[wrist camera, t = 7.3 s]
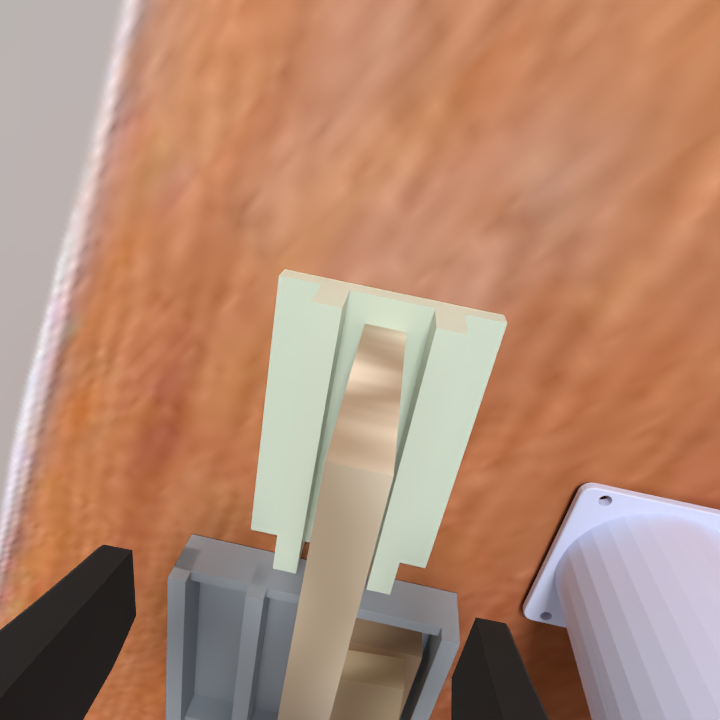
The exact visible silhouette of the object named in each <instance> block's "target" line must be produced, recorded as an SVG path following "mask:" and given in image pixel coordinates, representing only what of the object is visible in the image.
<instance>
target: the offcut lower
mask: <svg viewBox="0 0 720 720" xmlns="http://www.w3.org/2000/svg"><path fill="white" fill-rule="evenodd" d="M348 650H352V651H359V652H365V653H372V654H378V655H384V656H391V657H397V658H403V659H405V673H404V692H403V697H402V703H401V708H400V714H399V719H400V716H401V713H402V711H403V708H404V705H405V703H406V700H407V697H408V695H409V692H410V689H411V687H412V684H413V681H414V678H415V676H416V673H417V670H418V668H419V665H420V662H421V660H422V632H418V631H414V630H409V629H405V628H400V627H396V626H392V625H387V624H383V623H378V622H374V621H369V620H365V619H361V618H356V620H355V624H354V628H353V632H352V636H351V639H350V643H349V647H348ZM399 719H398V720H399Z"/></svg>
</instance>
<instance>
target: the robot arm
mask: <svg viewBox="0 0 720 720" xmlns="http://www.w3.org/2000/svg"><path fill="white" fill-rule="evenodd" d="M602 496H608V497H607V498H605V499H599V498H600V497H602ZM523 612H524V615H525V617H527V618H528V619H530V620H534V621H538V622H543V623H547V624H552V625H556V626H561V627H565V628H567V631H568V635H569V638H570V642H571V646H572V649H573V653H574V657H575V660H576V664H577V668H578V671H579V675H580V679H581V682H582V686H583V690H584V693H585V697H586V701H587V704H588V708H589V712H590V715H591V719H592V720H720V510H718V509H713V508H708V507H704V506H699V505H694V504H690V503H685V502H681V501H676V500H671V499H667V498H662V497H658V496H653V495H648V494H644V493H639V492H635V491H630V490H625V489H621V488H616V487H611V486H607V485H602V484H598V483H586V484H584V485H582V486H581V487H580V488H579V489H578V491H577V493H576V495H575V497H574V499H573V502H572V504H571V506H570V508H569V510H568V512H567V514H566V516H565V518H564V520H563V523H562V525H561V527H560V529H559V531H558V533H557V535H556V537H555V539H554V541H553V543H552V546H551V548H550V550H549V552H548V554H547V556H546V558H545V560H544V562H543V564H542V567H541V569H540V571H539V573H538V575H537V577H536V579H535V581H534V583H533V585H532V587H531V590H530V592H529V594H528V596H527V598H526V600H525V602H524V604H523ZM544 612H545V613H544ZM135 617H136V606H135V589H134V572H133V556H132V550H128V549H123V548H118V547H113V546H108V545H102V546H101V547H99V548H98V549H96V550H95V551H94V552H93V553H92V554H91V555H90V556H88V557H87V558H86V559H85V560H84V561H83V562H81V563H80V564H79V565H78V566H77V567H76V568H75V569H73V570H72V571H71V572H70V573H69V574H68V575H66V576H65V577H64V578H63V579H62V580H61V581H59V582H58V583H57V584H56V585H55V586H53V587H52V588H51V589H50V590H49V591H47V592H46V593H45V594H44V595H43V596H42V597H40V598H39V599H38V600H37V601H36V602H34V603H33V604H32V605H31V606H29V607H28V608H27V609H26V610H24V611H23V612H22V613H21V614H20V615H18V616H17V617H16V618H15V619H13V620H12V621H11V622H10V623H8V624H7V625H6V626H5V627H3V628H2V629H1V630H0V720H83V719H84V717H85V715H86V714H87V712H88V710H89V708H90V707H91V705H92V703H93V701H94V700H95V698H96V696H97V694H98V693H99V691H100V689H101V687H102V686H103V684H104V682H105V680H106V679H107V677H108V675H109V673H110V671H111V670H112V668H113V666H114V664H115V661H116V659H117V657H118V655H119V653H120V651H121V648H122V646H123V644H124V642H125V639H126V637H127V635H128V633H129V630H130V628H131V626H132V623H133V621H134V619H135ZM452 720H549V718H548V716H547V714H546V711H545V709H544V707H543V705H542V703H541V701H540V699H539V696H538V694H537V692H536V690H535V688H534V685H533V683H532V681H531V679H530V677H529V674H528V672H527V670H526V667H525V665H524V663H523V661H522V658H521V656H520V654H519V651H518V649H517V646H516V644H515V642H514V639H513V637H512V634H511V632H510V630H509V628H508V626H507V625H506V624H505V623H501V622H496V621H490V620H485V619H480V618H476V619H475V621H474V624H473V626H472V629H471V631H470V634H469V636H468V639H467V641H466V644H465V646H464V649H463V651H462V654H461V656H460V659H459V661H458V664H457V666H456V669H455V671H454V674H453V676H452Z"/></svg>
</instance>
